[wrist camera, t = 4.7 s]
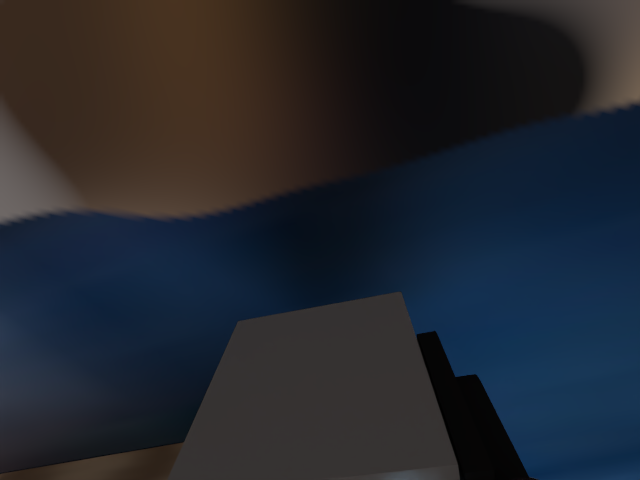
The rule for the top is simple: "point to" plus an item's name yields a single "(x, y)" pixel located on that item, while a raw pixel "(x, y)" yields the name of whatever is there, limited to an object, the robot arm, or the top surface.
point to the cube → (321, 401)
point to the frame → (108, 467)
